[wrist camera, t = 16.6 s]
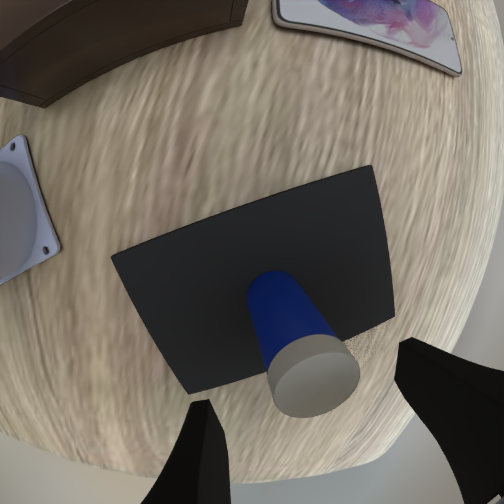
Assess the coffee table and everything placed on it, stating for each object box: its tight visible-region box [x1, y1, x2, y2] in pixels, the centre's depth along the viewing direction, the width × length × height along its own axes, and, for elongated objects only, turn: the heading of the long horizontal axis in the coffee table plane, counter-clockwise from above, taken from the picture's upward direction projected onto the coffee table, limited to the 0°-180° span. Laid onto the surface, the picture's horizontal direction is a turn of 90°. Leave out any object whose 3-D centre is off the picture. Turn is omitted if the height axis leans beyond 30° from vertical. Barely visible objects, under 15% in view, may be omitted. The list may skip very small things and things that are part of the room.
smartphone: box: [272, 0, 462, 77], centre depth 12 cm, size 7×1×15 cm
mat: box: [111, 165, 395, 395], centre depth 17 cm, size 16×11×1 cm
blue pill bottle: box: [247, 271, 360, 418], centre depth 13 cm, size 3×3×8 cm
